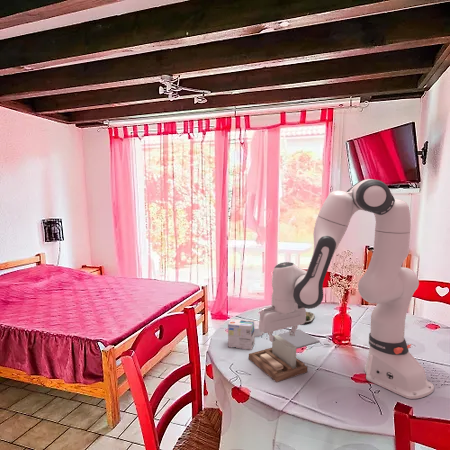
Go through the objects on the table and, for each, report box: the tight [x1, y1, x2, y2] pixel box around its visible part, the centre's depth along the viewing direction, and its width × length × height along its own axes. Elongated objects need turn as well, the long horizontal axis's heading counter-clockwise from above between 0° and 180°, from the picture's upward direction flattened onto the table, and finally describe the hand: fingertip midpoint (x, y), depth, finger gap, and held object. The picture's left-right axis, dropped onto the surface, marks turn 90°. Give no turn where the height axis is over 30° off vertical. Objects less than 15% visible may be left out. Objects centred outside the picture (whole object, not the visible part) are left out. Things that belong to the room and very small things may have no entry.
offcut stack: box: [260, 353, 284, 373], centre depth 129 cm, size 11×3×3 cm, turn 27°
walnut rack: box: [248, 347, 308, 383], centre depth 131 cm, size 19×14×2 cm
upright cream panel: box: [271, 334, 297, 369], centre depth 132 cm, size 12×2×9 cm, turn 27°
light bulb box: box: [227, 318, 256, 351], centre depth 147 cm, size 11×7×11 cm, turn 74°
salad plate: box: [303, 311, 315, 325], centre depth 180 cm, size 19×18×5 cm
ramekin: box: [254, 320, 264, 337], centre depth 160 cm, size 9×9×4 cm
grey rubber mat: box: [277, 329, 320, 350], centre depth 153 cm, size 14×14×1 cm
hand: (282, 338), depth 132 cm, fingers open, 8 cm apart
